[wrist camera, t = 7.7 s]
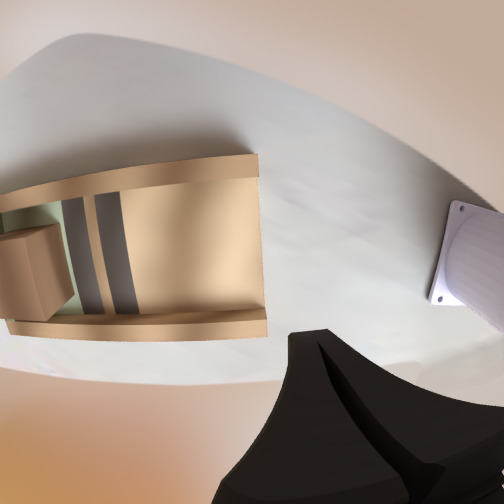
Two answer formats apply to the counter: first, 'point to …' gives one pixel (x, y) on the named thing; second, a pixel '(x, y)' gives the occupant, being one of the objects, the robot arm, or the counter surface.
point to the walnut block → (33, 273)
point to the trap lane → (153, 251)
